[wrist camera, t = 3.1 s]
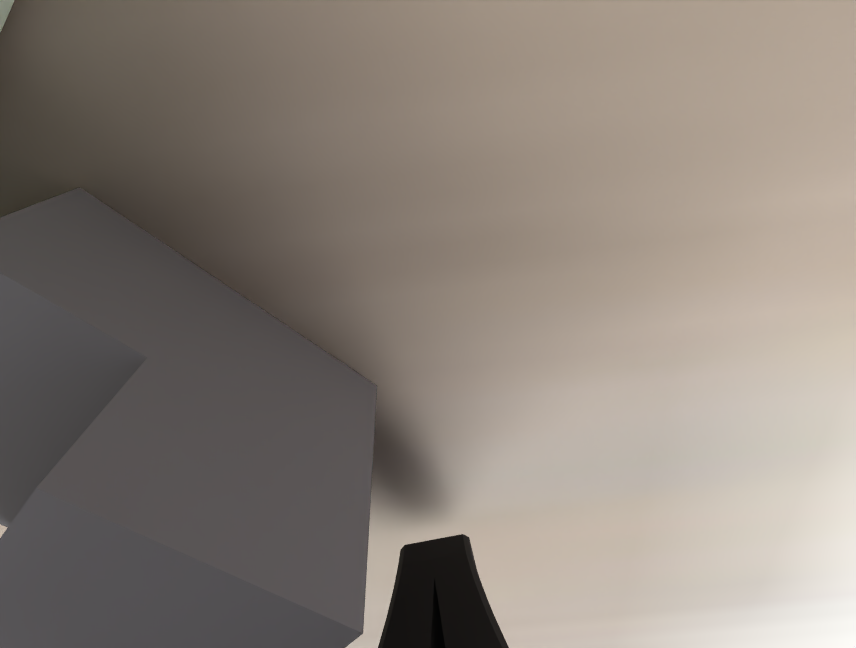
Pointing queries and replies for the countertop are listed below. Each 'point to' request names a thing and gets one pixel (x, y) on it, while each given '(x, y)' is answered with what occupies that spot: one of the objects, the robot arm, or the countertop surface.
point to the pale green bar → (4, 11)
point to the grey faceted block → (168, 451)
